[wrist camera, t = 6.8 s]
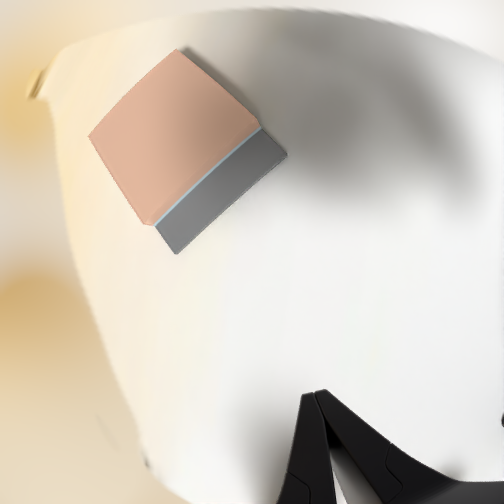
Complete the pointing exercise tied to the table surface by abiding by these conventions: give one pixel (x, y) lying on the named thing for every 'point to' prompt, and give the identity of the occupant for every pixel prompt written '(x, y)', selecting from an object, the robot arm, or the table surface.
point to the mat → (219, 190)
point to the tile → (170, 135)
